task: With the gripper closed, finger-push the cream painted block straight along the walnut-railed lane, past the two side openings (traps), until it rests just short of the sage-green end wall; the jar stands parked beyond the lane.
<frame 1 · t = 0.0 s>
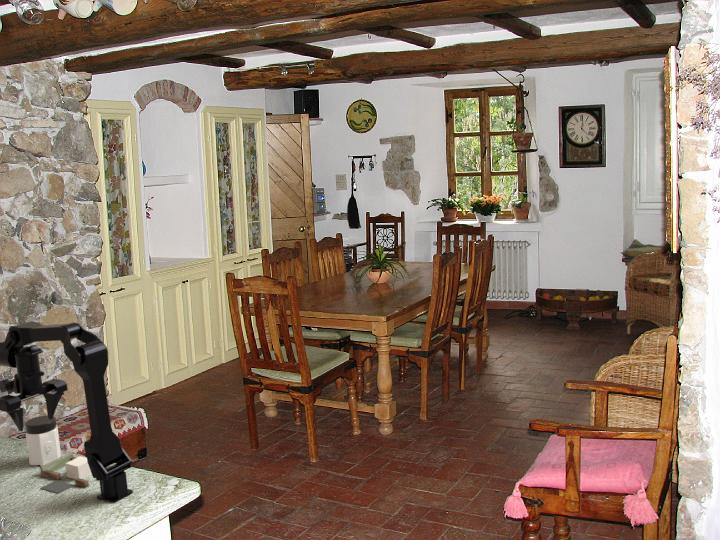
hand: (36, 424, 203), 15 cm above the counter, fingers open, 9 cm apart
block: (80, 475, 205), on the counter
lane: (78, 473, 205), on the counter
jar: (45, 460, 216), on the counter
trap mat: (57, 487, 198), on the counter
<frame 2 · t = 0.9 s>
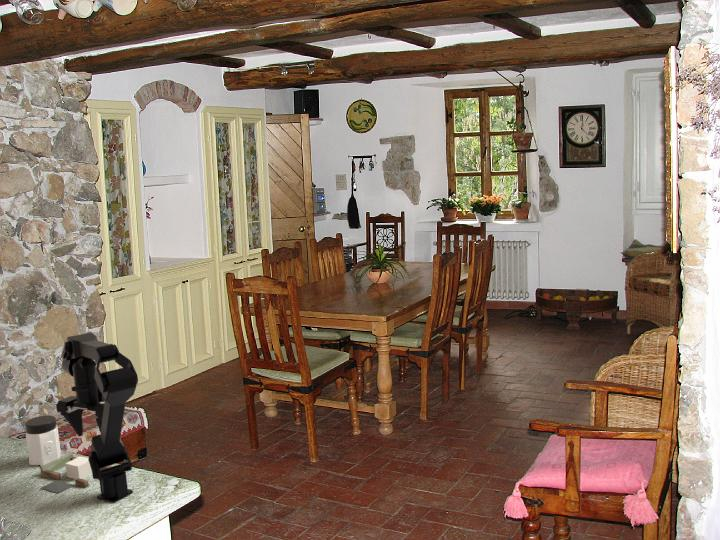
hand: (93, 437, 199), 12 cm above the counter, fingers open, 9 cm apart
nothing on the counter moved.
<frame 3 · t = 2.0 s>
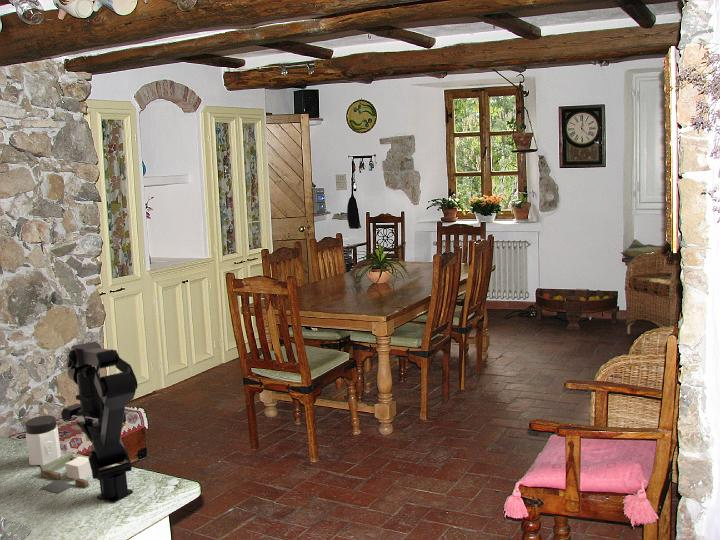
hand: (97, 446, 199), 10 cm above the counter, fingers closed
nothing on the counter moved.
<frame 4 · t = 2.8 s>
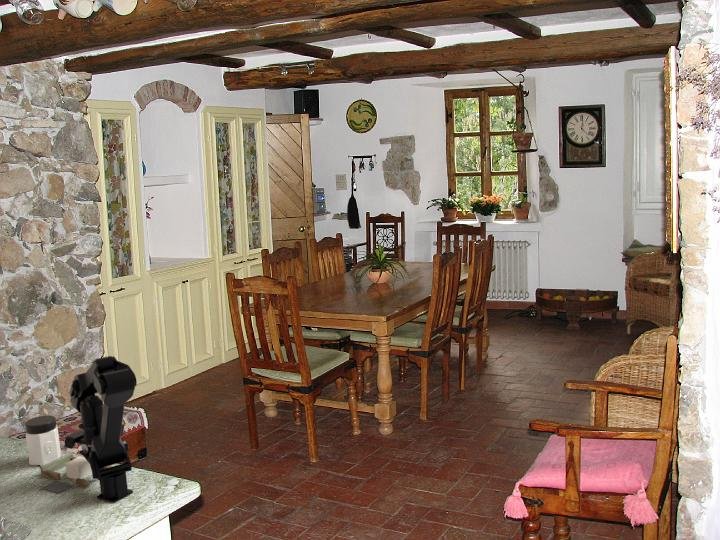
hand: (99, 474, 201), 2 cm above the counter, fingers closed
nothing on the counter moved.
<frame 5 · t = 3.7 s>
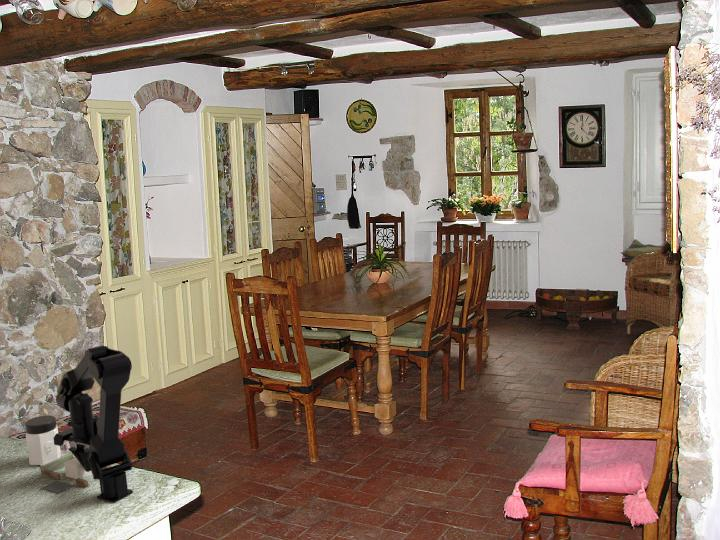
hand: (88, 471, 203), 2 cm above the counter, fingers closed
block: (79, 474, 205), on the counter, touching gripper
everything else where it was.
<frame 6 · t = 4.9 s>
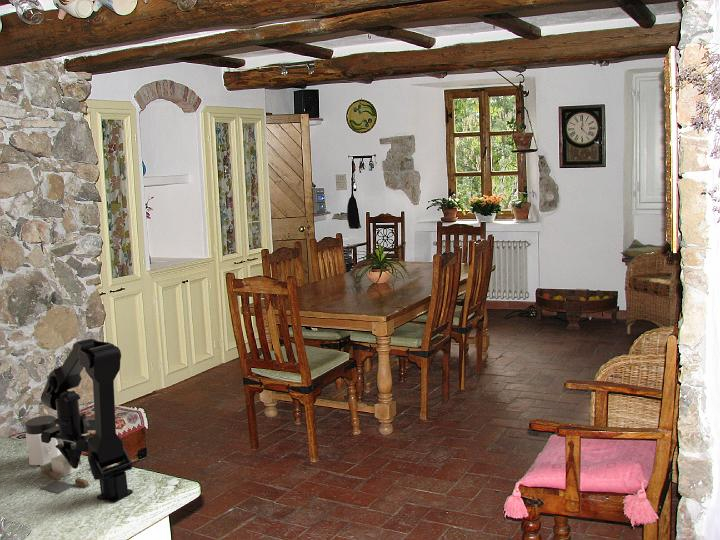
hand: (75, 468, 205), 2 cm above the counter, fingers closed
block: (66, 470, 208), on the counter, touching gripper
everything else where it was.
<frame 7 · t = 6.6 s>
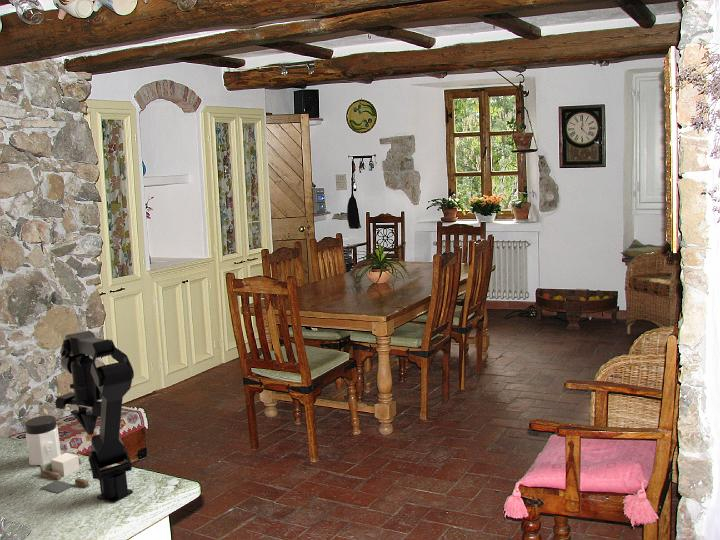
hand: (90, 434, 201), 12 cm above the counter, fingers closed
block: (66, 471, 208), on the counter
everything else where it was.
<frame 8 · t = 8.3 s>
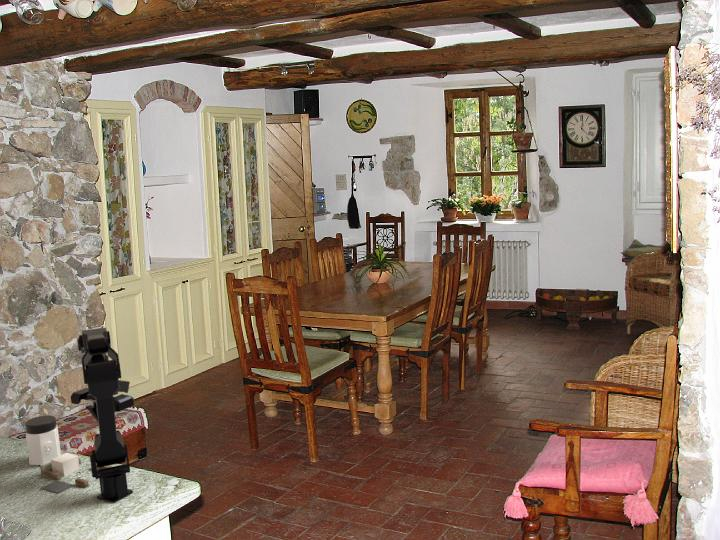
hand: (105, 429, 204), 12 cm above the counter, fingers closed
nothing on the counter moved.
at the end: block inside the target area (1.0 cm from its centre), on the counter; block tilted 0° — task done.
